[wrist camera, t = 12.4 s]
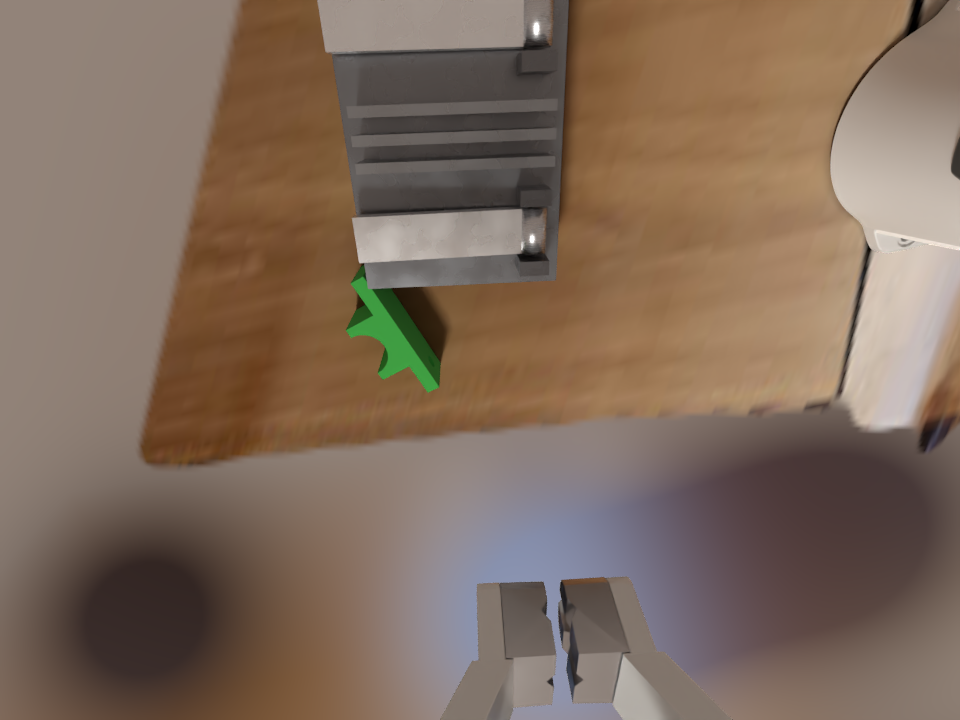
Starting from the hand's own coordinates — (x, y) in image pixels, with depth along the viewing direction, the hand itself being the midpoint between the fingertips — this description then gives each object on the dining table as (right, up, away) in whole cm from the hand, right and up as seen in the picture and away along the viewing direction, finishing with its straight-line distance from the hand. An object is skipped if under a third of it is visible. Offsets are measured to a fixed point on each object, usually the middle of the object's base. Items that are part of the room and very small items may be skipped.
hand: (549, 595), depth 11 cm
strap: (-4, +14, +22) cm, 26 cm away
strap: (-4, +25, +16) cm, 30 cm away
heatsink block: (-3, +22, +24) cm, 33 cm away
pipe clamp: (-9, +9, +31) cm, 33 cm away
